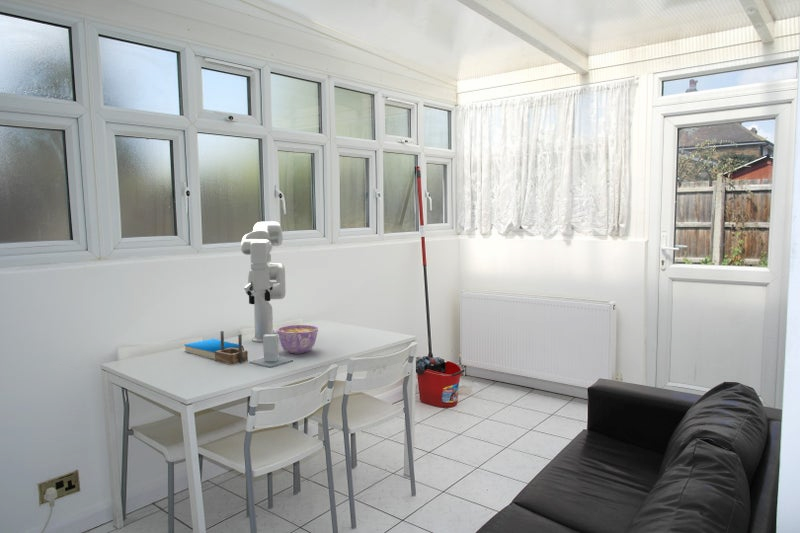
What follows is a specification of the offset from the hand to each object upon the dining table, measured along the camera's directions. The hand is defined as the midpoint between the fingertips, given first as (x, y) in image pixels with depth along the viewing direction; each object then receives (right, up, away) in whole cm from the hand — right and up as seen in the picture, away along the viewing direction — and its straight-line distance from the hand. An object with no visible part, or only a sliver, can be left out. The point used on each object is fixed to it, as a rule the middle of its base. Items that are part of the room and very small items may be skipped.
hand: (259, 302), depth 260 cm
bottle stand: (-11, -27, -7) cm, 30 cm away
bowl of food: (+16, -25, +10) cm, 32 cm away
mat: (+8, -27, -9) cm, 29 cm away
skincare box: (+8, -27, -9) cm, 29 cm away
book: (-25, -26, +10) cm, 37 cm away
